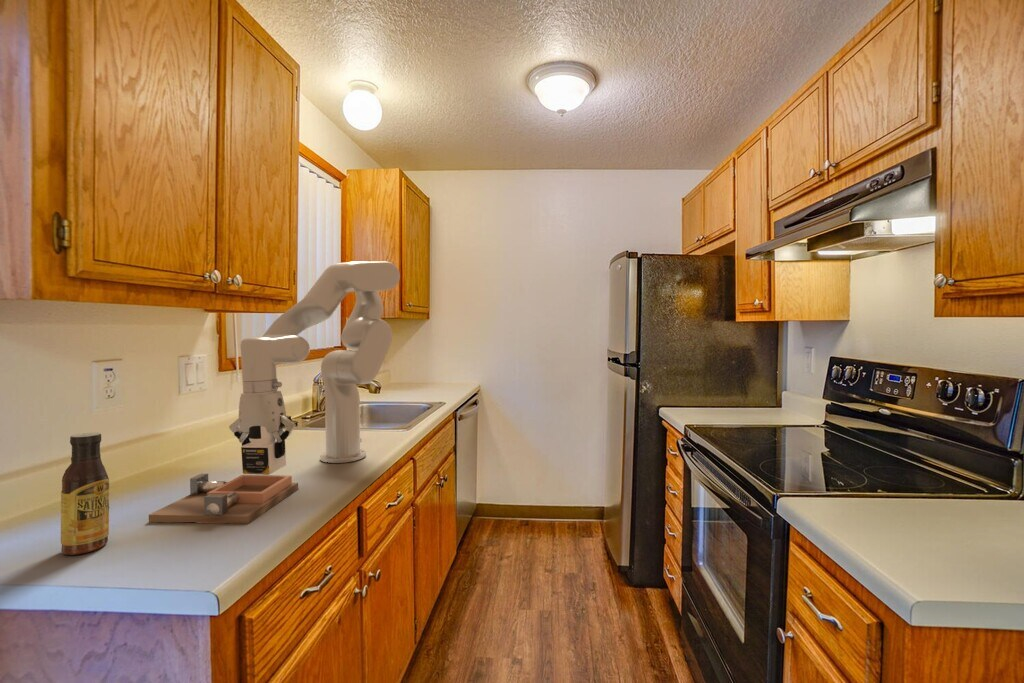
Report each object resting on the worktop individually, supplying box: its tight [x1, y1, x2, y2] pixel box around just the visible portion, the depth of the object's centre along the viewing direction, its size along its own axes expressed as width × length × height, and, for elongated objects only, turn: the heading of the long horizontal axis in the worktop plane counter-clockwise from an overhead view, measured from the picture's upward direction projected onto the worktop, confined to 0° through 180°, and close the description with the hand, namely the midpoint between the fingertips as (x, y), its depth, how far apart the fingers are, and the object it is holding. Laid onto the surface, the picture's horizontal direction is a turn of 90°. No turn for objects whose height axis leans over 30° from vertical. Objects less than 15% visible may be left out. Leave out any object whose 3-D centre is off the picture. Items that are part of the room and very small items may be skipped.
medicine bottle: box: [240, 426, 287, 475], centre depth 119 cm, size 7×7×12 cm
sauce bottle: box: [60, 432, 110, 556], centre depth 82 cm, size 6×6×20 cm
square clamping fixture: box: [148, 473, 299, 525], centre depth 103 cm, size 20×20×5 cm
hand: (264, 456), depth 119 cm, fingers closed on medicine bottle, 7 cm apart
